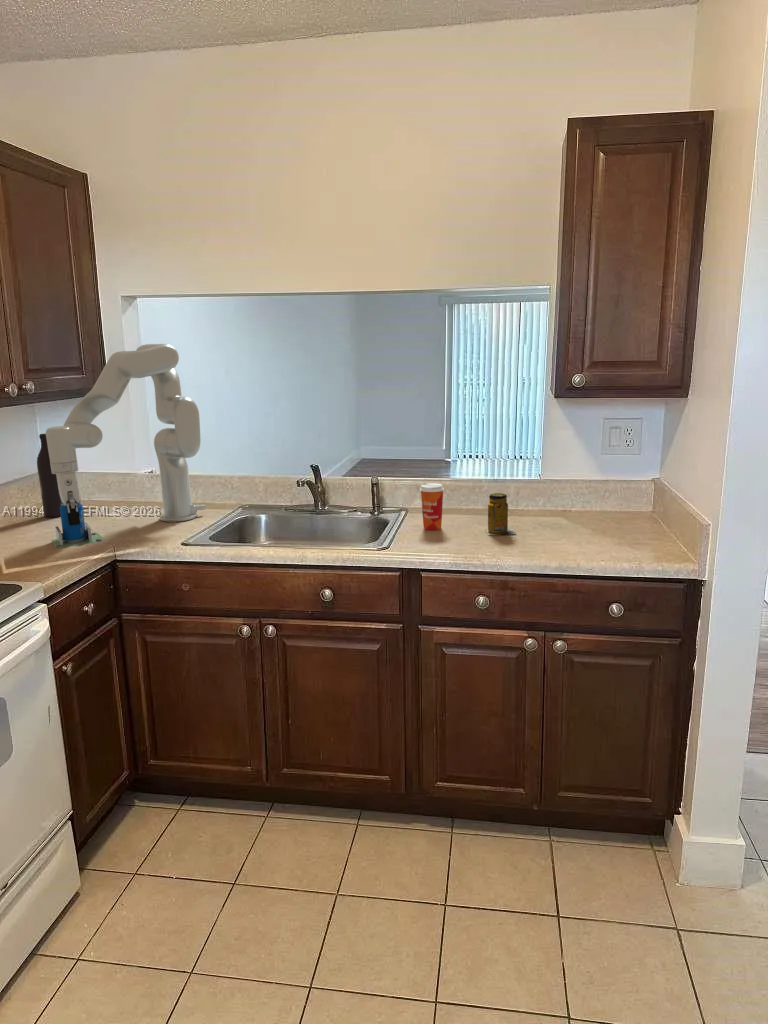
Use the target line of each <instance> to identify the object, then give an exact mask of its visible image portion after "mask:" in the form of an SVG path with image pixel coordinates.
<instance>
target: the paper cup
mask: <svg viewBox="0 0 768 1024" xmlns="http://www.w3.org/2000/svg"><path fill="white" fill-rule="evenodd" d="M419 490H420V498H421V511H422V513H421V514H422V524H423V529H424V530H426V531H439V530H441V529H442V523H443V522H442V521H443V502H444V501H443V499H444V490H445V488H444V486H443V484H442V483H437V482H435V483H434V482H433V483H430V482H429V483H424V484H421V485H420V488H419Z"/></svg>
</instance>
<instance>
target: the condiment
mask: <svg viewBox="0 0 768 1024" xmlns="http://www.w3.org/2000/svg"><path fill="white" fill-rule="evenodd" d="M488 497H489V500H488V501H489V502H488V503H487V504H488V505H487V528H486V529H485V532H486V533H487V535H488V536H504V535H510V536H511V535H517V533H516V532H515V531H514V529H513V528H509V526H508V525H509V524H508V523H509V522H508V520H509V519H508V518H509V513H508V512H509V504H508V499H507V497H508V496H507V494H505V493H501V492H495V493H491V494H489V496H488Z"/></svg>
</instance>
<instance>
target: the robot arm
mask: <svg viewBox="0 0 768 1024" xmlns="http://www.w3.org/2000/svg"><path fill="white" fill-rule="evenodd" d="M179 358H180V357H179V353H178V350H177V348H175V347H174V346H172V345H171V344H168V343H158V344H157V343H149V344H148V343H147V344H143V345H140V346H138V347H137V348H136V350H119V351H115V352H113V353H112V354H111V355H110V356H109V358H108V360H107V361H106V364H105V365H104V367H103V368H102V371H101V372H100V373H99V377H98V378H97V380H96V382H95V384H94V385H93V387H92V388H91V390H90V391H89V392H88V393H87V394H85V396H83V397H82V398H81V400H79V401H78V402H77V403H76V404H75V405H74V407H73V408H72V409H71V410H70V413H69V414H68V417H67V418H66V420H65V421H64V423H63V425H57V426H50V427H48V428H47V429H46V430H45V434H46V439H47V445H48V452H49V458H50V465H51V471H52V474H56V476H57V483H58V489H59V494H60V498H61V501H62V503H63V504H64V505H65V506H67V510H68V513H67V516H68V523H69V525H70V526H72V525H79V524H80V518H79V511H78V508H77V504H76V502H77V503H78V504H80V503H81V504H82V500H81V496H80V488H79V484H78V483H79V482H78V478H77V474H76V472H79V465H78V458H77V451H76V449H90V448H91V449H92V448H95V447H98V445H99V444H100V443H101V442H102V440H103V437H104V436H103V431H102V430H101V429H100V427H99V426H97V425H96V424H92V423H93V421H94V420H95V419H96V418H97V417H98V416H99V415H100V414H102V413H103V412H106V411H107V410H109V409H111V408H113V407H115V406H116V405H117V404H118V403H119V402H120V400H121V398H122V396H123V394H124V392H125V391H126V389H127V387H128V385H129V383H130V381H131V379H142V378H147V377H151V379H152V382H153V386H154V395H155V396H154V397H155V411H156V412H155V413H156V418H157V419H158V421H160V422H161V423H163V424H166V425H174V428H173V427H166V428H162V429H160V430H159V431H158V432H157V433H156V434H155V436H154V438H153V446H154V450H155V453H156V457H157V461H158V467H159V477H160V484H161V485H160V486H161V488H160V489H161V495H162V505H163V514H161V515H160V516H159V521H162V522H167V523H168V522H169V523H171V522H172V523H173V522H174V523H176V522H178V523H179V522H185V521H189V520H193V519H195V518H198V511H204V510H206V507H207V506H206V504H205V503H204V504H194V503H193V502H192V496H191V485H190V477H189V476H190V474H189V467H188V462H187V459H189V458H193V457H194V456H196V455H197V454H198V453H199V451H200V447H201V422H200V411H199V407H198V406H197V404H196V402H195V401H194V400H193V399H192V398H190V397H187V396H182V388H181V381H180V377H179V374H178V371H177V370H176V369H175V368H176V367H177V365H178V363H179ZM69 508H70V509H69Z"/></svg>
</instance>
